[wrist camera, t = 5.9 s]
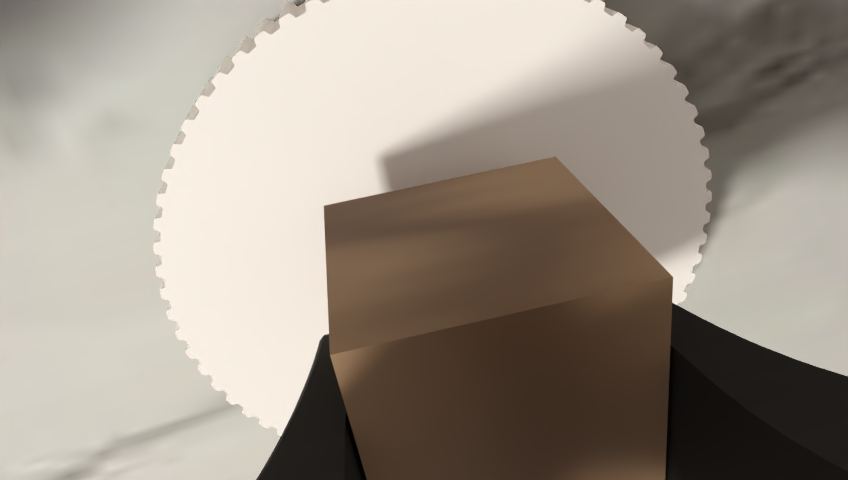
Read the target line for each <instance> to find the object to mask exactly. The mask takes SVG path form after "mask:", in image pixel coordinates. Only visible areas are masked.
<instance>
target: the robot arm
mask: <svg viewBox="0 0 848 480" xmlns="http://www.w3.org/2000/svg"><path fill="white" fill-rule="evenodd" d="M256 480H367V479H366V475H365V472H364V469H363V465H362V462H361V458H360V455H359V452H358V448H357V445H356V441H355V438H354V435H353V431H352V428H351V425H350V421H349V418H348V414H347V411H346V408H345V404H344V401H343V398H342V394H341V391H340V387H339V384H338V381H337V377H336V374H335V371H334V367H333V364H332V360H331V357H330V345H329V334H326V335H324V336H323V337H322V338H321V340H320V341H319V345H318V349H317V352H316V355H315V358H314V361H313V364H312V367H311V370H310V373H309V375H308V378H307V380H306V383H305V385H304V388H303V390H302V393H301V395H300V397H299V400H298V402H297V404H296V407H295V409H294V411H293V413H292V415H291V417H290V419H289V421H288V423H287V425H286V427H285V429H284V431H283V433H282V435H281V437H280V439H279V441H278V443H277V445H276V447H275V449H274V451H273V452H272V454H271V456H270V458H269V459H268V461H267V463H266V465H265V466H264V468H263V470H262V471H261V473H260V474H259V476H258V478H257V479H256ZM665 480H848V377H847V376H844V375H841V374H838V373H835V372H831V371H828V370H825V369H822V368H819V367H816V366H813V365H810V364H807V363H804V362H801V361H798V360H795V359H793V358H790V357H788V356H785V355H783V354H780V353H777V352H775V351H772V350H770V349H767V348H765V347H762V346H760V345H757V344H755V343H753V342H750V341H748V340H746V339H743V338H741V337H739V336H737V335H735V334H733V333H731V332H728V331H726V330H724V329H722V328H720V327H718V326H716V325H714V324H712V323H710V322H708V321H706V320H704V319H702V318H700V317H698V316H696V315H694V314H692V313H690V312H688V311H687V310H685V309H683V308H681V307H679V306H677V305H676V304H674V303H672V320H671V345H670V370H669V395H668V421H667V446H666V471H665Z"/></svg>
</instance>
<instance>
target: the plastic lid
mask: <svg viewBox="0 0 848 480" xmlns="http://www.w3.org/2000/svg"><path fill="white" fill-rule="evenodd" d="M626 20H627V18H626V17H625V16H624V15H622V14H621V13H620V12H617V11H614V10H612V9H609V8H606V7H605V3H604V2H603V1H601V0H305V2H304V3H303V4H301V5H299V6H296V5H295V4H293V3H292V2H290V3H288V4H287V5H285V6H284V7H282V9H281V13H280V17H279V19H278V20H277V21H275V22H274V21H272V20H271V19H269V18H267V19H266V20H264V21H263V22H262V23H261V24H260V25H259V27H258V30H257V32H256V35H255V37H254V39H252V38H250V37H248V36H246V37H245V38H244V39H243V40H242V41H241V42H240V43H239V45H238V47H237V49H236V51H235V53H234V55H233V57H230V56H227V57H226V58H225V59H224V60H223V62H222V63H221V65H220V66H219V68H218V70H217V72H216V74H215V76H214V77H211V78H210V79H209V80H208V82H207V83H206V85H205V87H204V88H203V90H202V92H201V94H200V96H199V97H198V99H197V100H196V102H195V103H194V105H193V107H192V109H191V110H190V112H189V114H188V116H187V118H186V119H185V121H184V123H183V125H182V127H181V131H180V133H179V135H178V137H177V138H176V140H175V142H174V144H173V146H172V148H171V151H170V155H171V157H170V159H169V161H168V163H167V165H166V167H165V169H164V171H163V174H162V178H161V179H162V180H163V181H164V183H163V185H162V187H161V189H160V191H159V193H158V195H157V200H156V205H158V206H160V209H159V211H158V213H157V215H156V217H155V219H154V230H156V231H159V233H158V235H157V237H156V240H155V242H154V244H153V248H154V253H155V254H157V255H160V258H159V260H158V263H157V265H156V267H155V269H156V276H157V277H160V278H163V279H164V280H163V283H162V286H161V288H160V294H161V298H162V299H165V300H169V302H170V303H169V306H168V308H167V311H166V313H167V316H168V318H169V320H173V321H177V323H178V324H177V327H176V330H175V334H176V336H177V338H178V339H179V340H186V342H187V343H188V344H187V347H186V351H185V352H186V353H187V355H188V356H189V358H197V359H198V361H199V365H198V370H199V372H200V373H201V374H202V375H210V376H211V377H212V383H211V386H212V387H213V388H214V389H215V390H216V391H220V390H224V391H225V392H226V393H227V397H226V400H227V401H228V402H229V403H230V404H231V405H235V404H239V405H241V406H242V407H243V410H242V413H243V414H244V415H246V416H247V417H249V418H250V417H252V416H256V417H257V418H259V419H260V422H259V425H261V426H262V427H264V428H266V429H267V428H269V427H273V428H275V429H277V435H279V436H281V435H282V433H283V431H284V429H285V427H286V425H287V423H288V421H289V419H290V417H291V415H292V413H293V411H294V409H295V407H296V404H297V402H298V400H299V397H300V395H301V393H302V390H303V388H304V385H305V383H306V380H307V378H308V375H309V373H310V370H311V367H312V364H313V361H314V358H315V355H316V352H317V349H318V345H319V341H320V340H321V338H322V337H323V336H324V335H326V334H329V321H328V297H327V274H326V250H325V226H324V206H325V205H330V204H334V203H339V202H344V201H348V200H353V199H358V198H363V197H367V196H372V195H377V194H381V193H386V192H391V191H395V190H400V189H405V188H410V187H414V186H419V185H424V184H428V183H433V182H438V181H443V180H447V179H452V178H457V177H461V176H466V175H471V174H475V173H480V172H485V171H490V170H494V169H499V168H504V167H508V166H513V165H518V164H523V163H527V162H532V161H537V160H541V159H546V158H551V157H556V158H557V159H558V160H559V161H560V162H561V163H562V164H563V165H564V166H565V167H566V168H567V169H568V170H569V171H570V172H571V173H572V174H573V175H574V176H575V177H576V178H577V179H578V180H579V181H580V182H581V183H582V184H583V185H584V186H585V187H586V188H587V189H588V190H589V191H590V192H591V193H592V194H593V195H594V196H595V197H596V199H597V200H598V201H599V202H600V203H601V204H602V205H603V206H604V207H605V208H606V209H607V210H608V211H609V212H610V213H611V214H612V215H613V216H614V217H615V218H616V219H617V220H618V221H619V222H620V223H621V224H622V225H623V226H624V227H625V228H626V229H627V230H628V231H629V232H630V233H631V234H632V235H633V236H634V237H635V238H636V239H637V240H638V241H639V243H640V244H641V245H642V246H643V247H644V248H645V249H646V250H647V251H648V252H649V253H650V254H651V255H652V256H653V257H654V258H655V259H656V260H657V261H658V262H659V263H660V264H661V265H662V266H663V267H664V268H665V269H666V270H667V271H668V272H669V273H670V274H671V275H672V276H673V294H672V303H674V304H676V305H677V304H678V303H679V302H683V301H684V300H685V298H686V296H687V293H686V292H685V291H684V289H685V287H686V285H687V284H689V283H692V282H693V280H694V278H695V274H694V273H693V272H692V270H693V267H694V265H696V264H699V263H700V261H701V258H702V254H701V253H700V252H699V247H700V245H701V244H704V243H705V242H706V239H707V234H706V233H705V232H704V231H703V227H704V225H705V224H707V223H709V222H710V215H711V214H710V213H709V212H708V211H707V210H706V204H707V203H709V202H710V201H711V200H712V192H711V191H710V190H708V189H707V188H706V183H707V182H708V181H710V180H711V179H712V175H711V170H710V169H708V168H707V167H705V165H704V162H705V161H706V160H707V159H708V158H709V151H708V148H706V147H704V146H703V145H701V143H700V140H701V139H702V138H703V137H704V136H705V133H704V129H703V127H702V126H700V125H698V124H696V123H695V122H694V118H695V117H696V116H697V115H698V112H697V109H696V107H695V106H694V105H692V104H691V103H689V102H687V101H685V98H686V96H687V95H688V94H689V92H688V90H687V88H686V86H685V85H684V84H682V83H680V82H678V81H676V80H674V77H675V76H676V74H677V71H676V70H675V68H674V67H673V65H671V64H669V63H667V62H664V61H662V60H660V58H661V56H662V54H663V52H662V51H661V50H660V49H659V48H658V47H657V46H656V45H653V44H651V43H649V42H646V41H644V39H645V37H646V34H645V33H644V32H643V31H642V30H641V29H639V28H637V27H635V26H632V25H630V24H627V23H626Z"/></svg>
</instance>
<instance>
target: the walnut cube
mask: <svg viewBox="0 0 848 480" xmlns="http://www.w3.org/2000/svg"><path fill="white" fill-rule="evenodd" d="M324 226H325V250H326V274H327V297H328V321H329V345H330V357H331V360H332V364H333V367H334V371H335V374H336V377H337V381H338V384H339V387H340V391H341V394H342V398H343V401H344V404H345V408H346V411H347V414H348V418H349V421H350V425H351V428H352V431H353V435H354V438H355V441H356V445H357V448H358V452H359V455H360V458H361V462H362V465H363V469H364V472H365V475H366V479H367V480H665V471H666V446H667V421H668V395H669V370H670V345H671V320H672V294H673V276H672V275H671V274H670V273H669V272H668V271H667V270H666V269H665V268H664V267H663V266H662V265H661V264H660V263H659V262H658V261H657V260H656V259H655V258H654V257H653V256H652V255H651V254H650V253H649V252H648V251H647V250H646V249H645V248H644V247H643V246H642V245H641V244H640V243H639V241H638V240H637V239H636V238H635V237H634V236H633V235H632V234H631V233H630V232H629V231H628V230H627V229H626V228H625V227H624V226H623V225H622V224H621V223H620V222H619V221H618V220H617V219H616V218H615V217H614V216H613V215H612V214H611V213H610V212H609V211H608V210H607V209H606V208H605V207H604V206H603V205H602V204H601V203H600V202H599V201H598V200H597V199H596V197H595V196H594V195H593V194H592V193H591V192H590V191H589V190H588V189H587V188H586V187H585V186H584V185H583V184H582V183H581V182H580V181H579V180H578V179H577V178H576V177H575V176H574V175H573V174H572V173H571V172H570V171H569V170H568V169H567V168H566V167H565V166H564V165H563V164H562V163H561V162H560V161H559V160H558V159H557V158H556V157H551V158H546V159H541V160H537V161H532V162H527V163H523V164H518V165H513V166H508V167H504V168H499V169H494V170H490V171H485V172H480V173H475V174H471V175H466V176H461V177H457V178H452V179H447V180H443V181H438V182H433V183H428V184H424V185H419V186H414V187H410V188H405V189H400V190H395V191H391V192H386V193H381V194H377V195H372V196H367V197H363V198H358V199H353V200H348V201H344V202H339V203H334V204H330V205H325V206H324Z"/></svg>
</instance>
